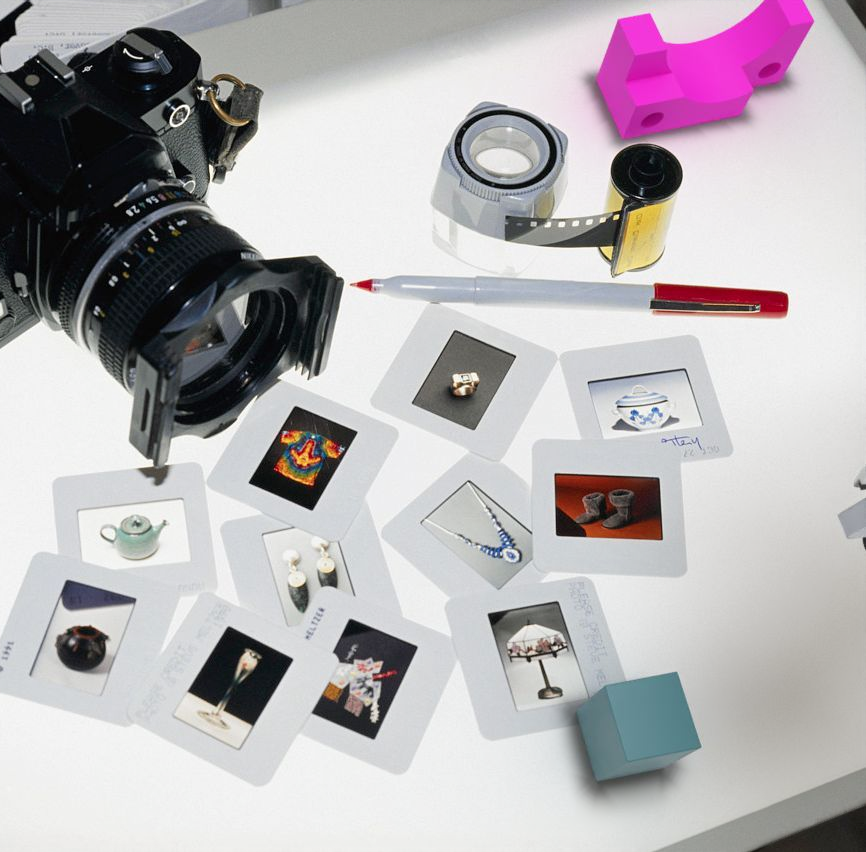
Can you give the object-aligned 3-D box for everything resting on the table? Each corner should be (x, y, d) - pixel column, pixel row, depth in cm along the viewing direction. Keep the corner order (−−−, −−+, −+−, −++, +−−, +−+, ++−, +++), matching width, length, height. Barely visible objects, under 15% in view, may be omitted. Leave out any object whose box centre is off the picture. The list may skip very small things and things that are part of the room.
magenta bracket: (621, 142, 100) (647, 80, 93) (594, 83, 102) (618, 19, 95) (790, 108, 101) (828, 45, 95) (760, 50, 104) (795, -15, 97)
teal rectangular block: (640, 698, 81) (677, 671, 74) (662, 769, 79) (702, 747, 72) (574, 711, 80) (604, 685, 73) (594, 782, 79) (627, 762, 71)
